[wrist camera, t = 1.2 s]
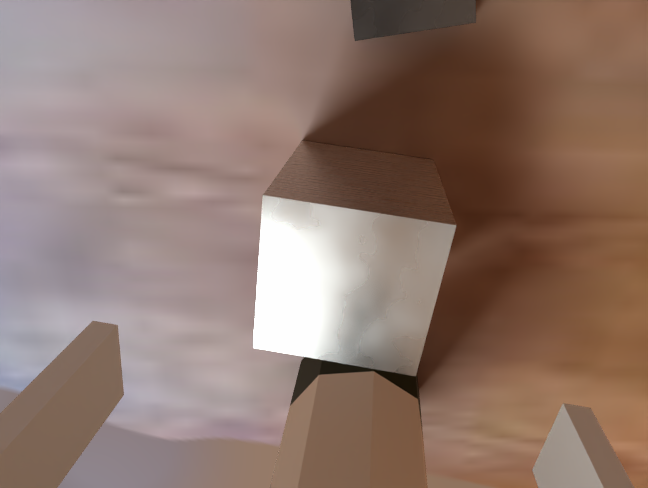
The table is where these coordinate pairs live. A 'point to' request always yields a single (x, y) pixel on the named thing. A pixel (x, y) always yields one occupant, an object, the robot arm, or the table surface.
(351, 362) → the grey rectangular block
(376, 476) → the wine bottle
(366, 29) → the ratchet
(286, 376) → the table surface
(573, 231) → the table surface
